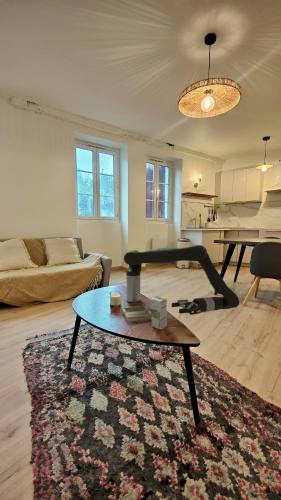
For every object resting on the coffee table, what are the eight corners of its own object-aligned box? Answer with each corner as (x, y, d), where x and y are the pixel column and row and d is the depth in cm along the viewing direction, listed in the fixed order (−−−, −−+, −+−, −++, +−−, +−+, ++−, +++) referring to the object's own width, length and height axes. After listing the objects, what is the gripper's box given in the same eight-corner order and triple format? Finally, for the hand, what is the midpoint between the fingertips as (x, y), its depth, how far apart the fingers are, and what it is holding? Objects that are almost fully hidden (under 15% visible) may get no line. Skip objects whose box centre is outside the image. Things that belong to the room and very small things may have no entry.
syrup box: (167, 326, 109) (167, 298, 108) (159, 330, 105) (160, 301, 103) (157, 322, 113) (158, 295, 111) (150, 326, 109) (150, 298, 107)
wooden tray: (121, 312, 126) (121, 307, 125) (145, 310, 130) (145, 305, 130) (127, 323, 113) (127, 317, 112) (153, 319, 117) (153, 314, 116)
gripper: (196, 293, 122) (169, 296, 117) (211, 302, 108) (182, 306, 103) (195, 306, 123) (169, 310, 118) (211, 317, 109) (181, 321, 104)
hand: (175, 308), depth 111 cm, fingers open, 8 cm apart
